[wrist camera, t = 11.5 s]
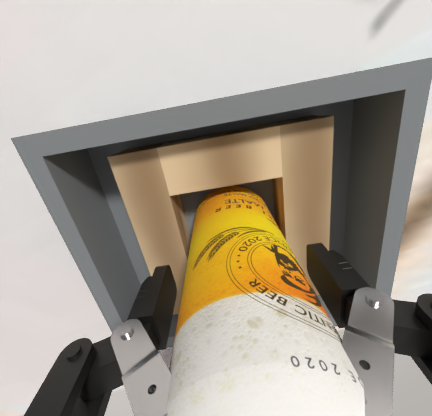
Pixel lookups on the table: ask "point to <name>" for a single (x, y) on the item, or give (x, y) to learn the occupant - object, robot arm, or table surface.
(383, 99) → the open-top box
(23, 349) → the table surface
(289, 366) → the beer can
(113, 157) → the plate
